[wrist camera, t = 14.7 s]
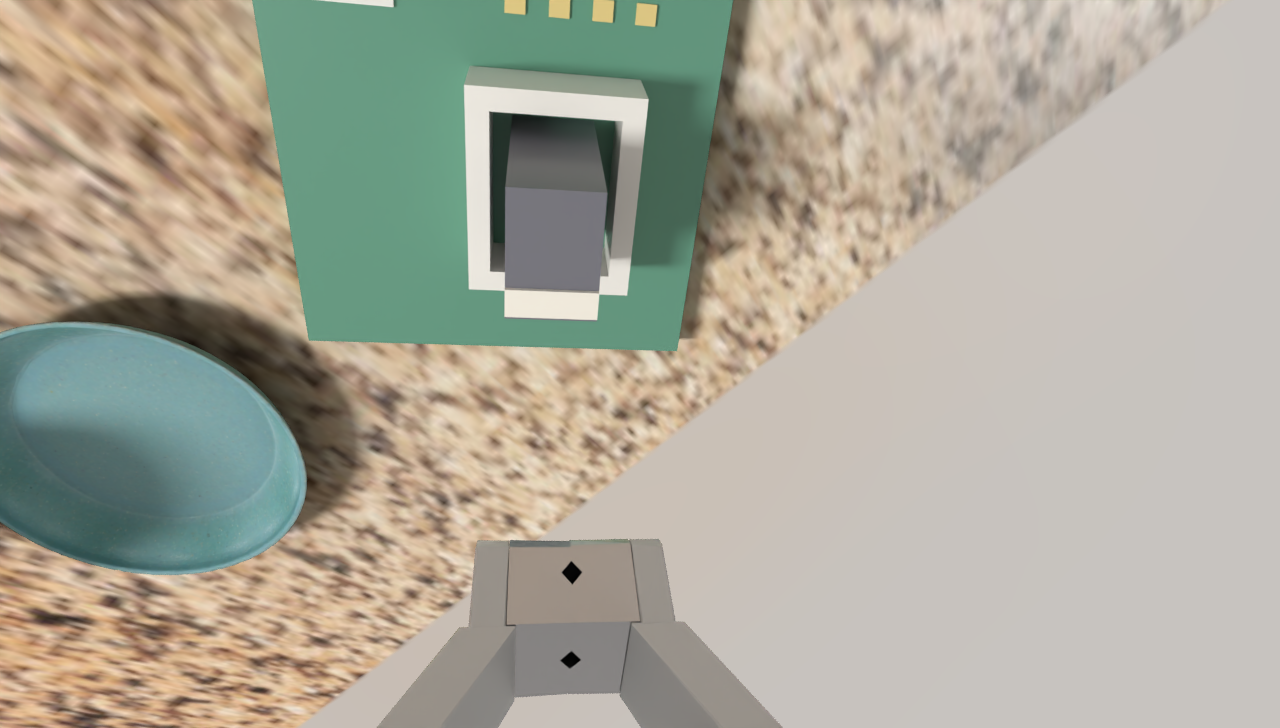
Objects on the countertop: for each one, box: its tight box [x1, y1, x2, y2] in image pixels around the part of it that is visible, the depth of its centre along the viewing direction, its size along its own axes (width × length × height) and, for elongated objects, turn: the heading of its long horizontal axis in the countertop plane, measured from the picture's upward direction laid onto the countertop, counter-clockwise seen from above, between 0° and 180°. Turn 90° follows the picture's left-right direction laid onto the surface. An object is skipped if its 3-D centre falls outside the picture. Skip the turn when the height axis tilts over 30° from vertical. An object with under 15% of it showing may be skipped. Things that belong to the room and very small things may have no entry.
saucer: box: [0, 322, 307, 575], centre depth 34 cm, size 15×15×3 cm
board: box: [252, 0, 733, 351], centre depth 27 cm, size 20×16×4 cm
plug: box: [504, 115, 607, 322], centre depth 26 cm, size 4×3×7 cm, turn 174°
